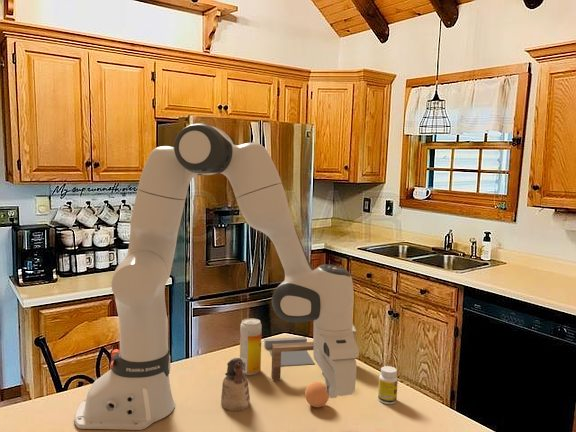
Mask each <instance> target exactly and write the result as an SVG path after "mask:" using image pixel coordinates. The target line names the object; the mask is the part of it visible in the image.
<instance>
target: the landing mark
mask: <svg viewBox="0 0 576 432" xmlns="http://www.w3.org/2000/svg"><path fill="white" fill-rule="evenodd" d="M268 351H269V353H270V357H272V349H269V350H268ZM315 363H316V362H314V360H313V358H312V357H311V355H310V353H309V352H308V350H306V351H288V352H281V367H291V366H304V365H305V366H306V365H315Z"/></svg>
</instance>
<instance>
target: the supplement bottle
mask: <svg viewBox="0 0 576 432" xmlns="http://www.w3.org/2000/svg"><path fill="white" fill-rule="evenodd" d="M397 375H398V369H397V368H396V367H393V366H389V365H384V366H381V368H380V375H379V377H378V393H377V398H378V401H379V402H380V403H382V404H385V405H393V404H396V403H397V401H398V400H397V398H398V397H397V396H398V382H399V381H398V379H399V378H398V376H397Z"/></svg>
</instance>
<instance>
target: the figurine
mask: <svg viewBox="0 0 576 432" xmlns="http://www.w3.org/2000/svg"><path fill="white" fill-rule="evenodd" d="M226 365H227V368H226V372H225V374H224V375H225V377H224V379H223V380H222V387H221V389H222V390H221V397H220V398H221V399H220V404H221V407H222V408H224V409H225V410H227V411H232V412H239V411H243V410H245V409H247V408H248V407H249V406H250V403H251V402H250V401H251V400H250V398H251V397H250V387H249V380H248V377H247V375H245V374H243V372H242V365H243V362H242V360H241V359H240V357H233V358H232V359H230V360H229V361H228V362H227V364H226Z"/></svg>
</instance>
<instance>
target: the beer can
mask: <svg viewBox="0 0 576 432" xmlns="http://www.w3.org/2000/svg"><path fill="white" fill-rule="evenodd" d="M239 328H240V330H239V332H240V333H239V334H240V336H239V338H240V339H239V358H240V359H241V360H242V362H243V365H242V372H243V374H244V375H245V376H254V375H257V374H258V373H259V372H260V371H261V367H262V366H261V364H262V328H263V327H262V323H261V320H260V319H257V318H251V317H250V318H248V317H247V318H244V319H242V320H241V323H240V327H239Z"/></svg>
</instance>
